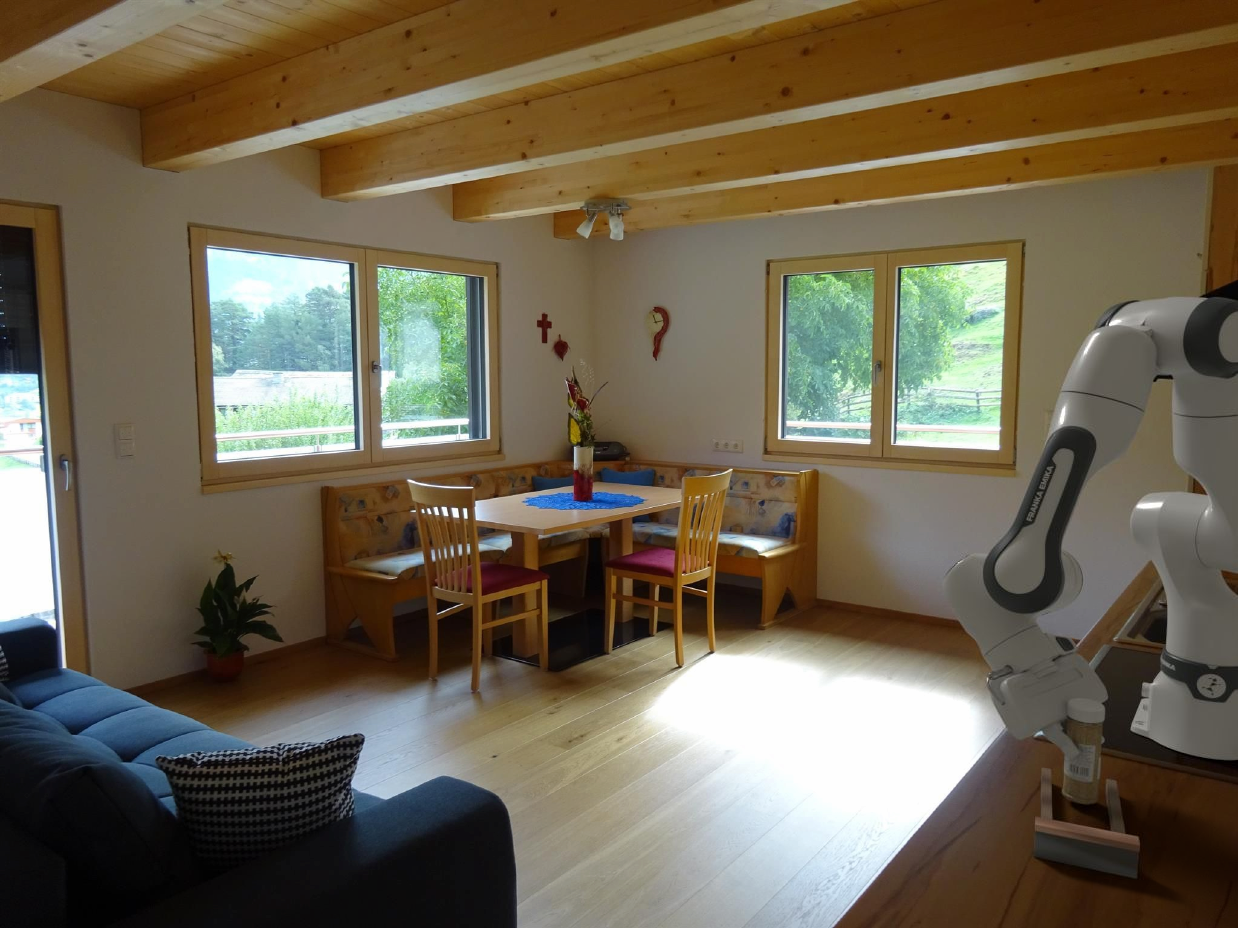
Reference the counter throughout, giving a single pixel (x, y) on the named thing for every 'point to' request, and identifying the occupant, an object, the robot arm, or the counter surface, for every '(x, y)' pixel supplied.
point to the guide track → (1086, 837)
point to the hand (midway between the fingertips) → (1087, 750)
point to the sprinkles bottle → (1084, 750)
